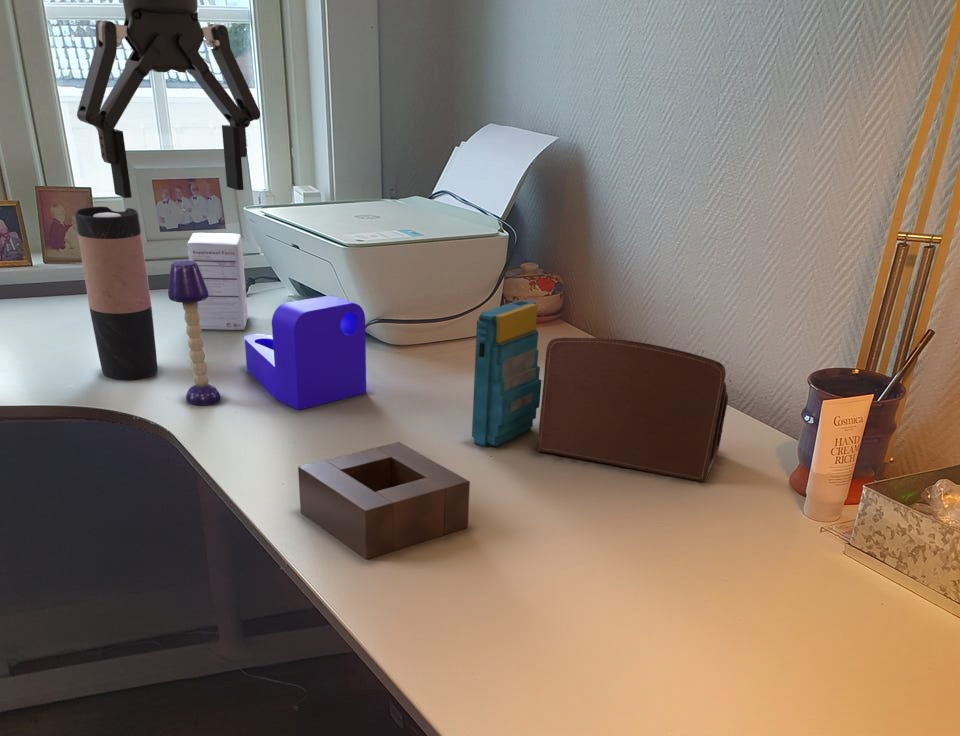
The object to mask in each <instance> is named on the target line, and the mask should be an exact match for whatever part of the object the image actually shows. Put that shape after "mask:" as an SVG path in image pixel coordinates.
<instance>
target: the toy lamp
mask: <svg viewBox="0 0 960 736" xmlns="http://www.w3.org/2000/svg"><path fill="white" fill-rule="evenodd" d="M169 270H170V271H169V280H168V289H167V290H168V291H167V297H168V298H169V301H172V302H176V303H181V304H182V305H181V306H182V308H183V310H184V314H183V316H184V317H183V318H184V320H185V323H186V326H185V331H186V334H187V337H188V339H187V345H188V348H189V349H190V350H189V358H190V360H191V370H192V373H193V383H194V385H192V386H190V387H189V388H188V389H187V392H186V396H185V402H187V404H190V405H194V406H210V405H214V404H216V403H219V402H221V399H222V397H221V393H220V392H219V390H218V388H216V387H215V386H214V385H212V384H209V377H208V374H207V370H208V369H207V368H208V367H207V364H206V362H205V360H206V353H205V350H204V349H203V348H204V339H203V338H202V333H203V332H202V331H203V329H201V326H200V325H199V322H200V316H199V313H198V311H197V310H198V302H199V301H202V300H205V299H207V298H208V290H207V288H206V285H205V282H204V280H203V277H202V274H201V272H200V269H199V267H198V265H197V263H196V262H194V261H191V260H189V259H181V260H175V261H173V262H172V263H171V265H170V269H169Z"/></svg>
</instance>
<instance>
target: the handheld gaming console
mask: <svg viewBox="0 0 960 736" xmlns="http://www.w3.org/2000/svg"><path fill="white" fill-rule="evenodd" d="M538 306H539V305H538V304H537V302H536V301H533V300H529V299H523V300H520V299H519V300H515V301H512V302H509V303H506V304H502V305H500V306H497V307H494V308H490V309H489V310H484V311H482V312H480V314H479V316H478V320H476V333H475V336H476V337H475V353H474V354H475V357H474V361H475V362H474V375H473V376H474V380H473V399H472V400H473V402H472V424H471V425H472V426H471V437H472V438H473V444H474V445H477V446H480V447H482V448H483V447H484V448H486V447H487V446H489V447H492V448H498V447H500V446H502V445H504V444H506V443H508V442H510V441H512V440H514V439H516V438H518V437H520V436H522V435H524V434H526V433H529V432H530V431H531V430H532V428H533V425H534V420H535V419H537V409H539V408H540V406H541V405H540V404H541V403H540V402H541V394H542V393H541V391H542V379H540V372H541V366H538V363H539V362H538V361H539V352H540V351H539V349H538V342H539V341H538V339H539V331H538V330H537V318H538Z"/></svg>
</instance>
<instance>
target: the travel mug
mask: <svg viewBox="0 0 960 736" xmlns="http://www.w3.org/2000/svg"><path fill="white" fill-rule="evenodd" d="M74 217H75V224H76V230H77V231H76V232H77V238H78V243H79V250H80V257H81V263H82V270H83V276H84V283H85V289H86V296H87V301H88V308H89V313H90V319H91V325H92V329H93V333H94V339H95V343H96V348H97V353H98V358H99V363H100V368H101V372H102V375H103V376H104V377H107V378H109V379H112V380H120V381H122V380H123V381H131V380H141V379H146V378H149V377H152V376H154V375H155V374H157V372H158V370H159V369H158V358H157V357H158V356H157V347H156V337H155V328H154V317H153V309H152V307H153V306H152V299H151V292H150V285H149V277H148V271H147V263H146V258H145V252H144V251H145V249H144V242H143V235H142V229H141V222H140V215H139V211H138V210H136V209H134V208H131V207H128V208H126V209H125V210H124V211H115V210H112V209H111V208H110V207H108V206H90V207H89V206H88V207H83V208H79V209H77V210H75V212H74Z"/></svg>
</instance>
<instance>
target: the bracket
mask: <svg viewBox="0 0 960 736" xmlns="http://www.w3.org/2000/svg"><path fill="white" fill-rule="evenodd" d="M271 332H272V335H270V334H265V333H253V334H248V335H245V336H244V337H243V339H244V350H245V351H244V352H245V364H246V371H247V372H248V373H249V374H250V375H251V376H252V377H253V378H254V379H255V380H256V381H257V382H258V383H259V384H260V385H261V386H262V387H263V388H264V389H265V390H266V391H267V392H268V393H269V394H270V395H271V396H272V397H273V398H274V399H275V400H276V401H277V402H279V403H282V404H284V405H286V406H289V407H290V408H293V409H294V410H297V411H301V410H305V409H308V408H312V407H316V406H320V405H324V404H328V403H332V402H336V401H339V400H340V401H341V400H344V399H348V398H351V397H356V396H358V395H363V394H367V357H366V356H367V354H366V353H367V349H366V348H367V347H366V345H367V344H366V343H367V341H366V314H365V311H364V309H363V308H362V306H361V305H360V304H357V303H356V302H352V301H349V300H346V299H344V298H340V297H338V296H335V295H326V296H318V297H313V298H308V299H300V300H296V301H290V302H289V301H288V302H284V303H282V304H280V305H279V306H278V307H277V308H276V309H275V311H274V312H273V314H272V318H271Z"/></svg>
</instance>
